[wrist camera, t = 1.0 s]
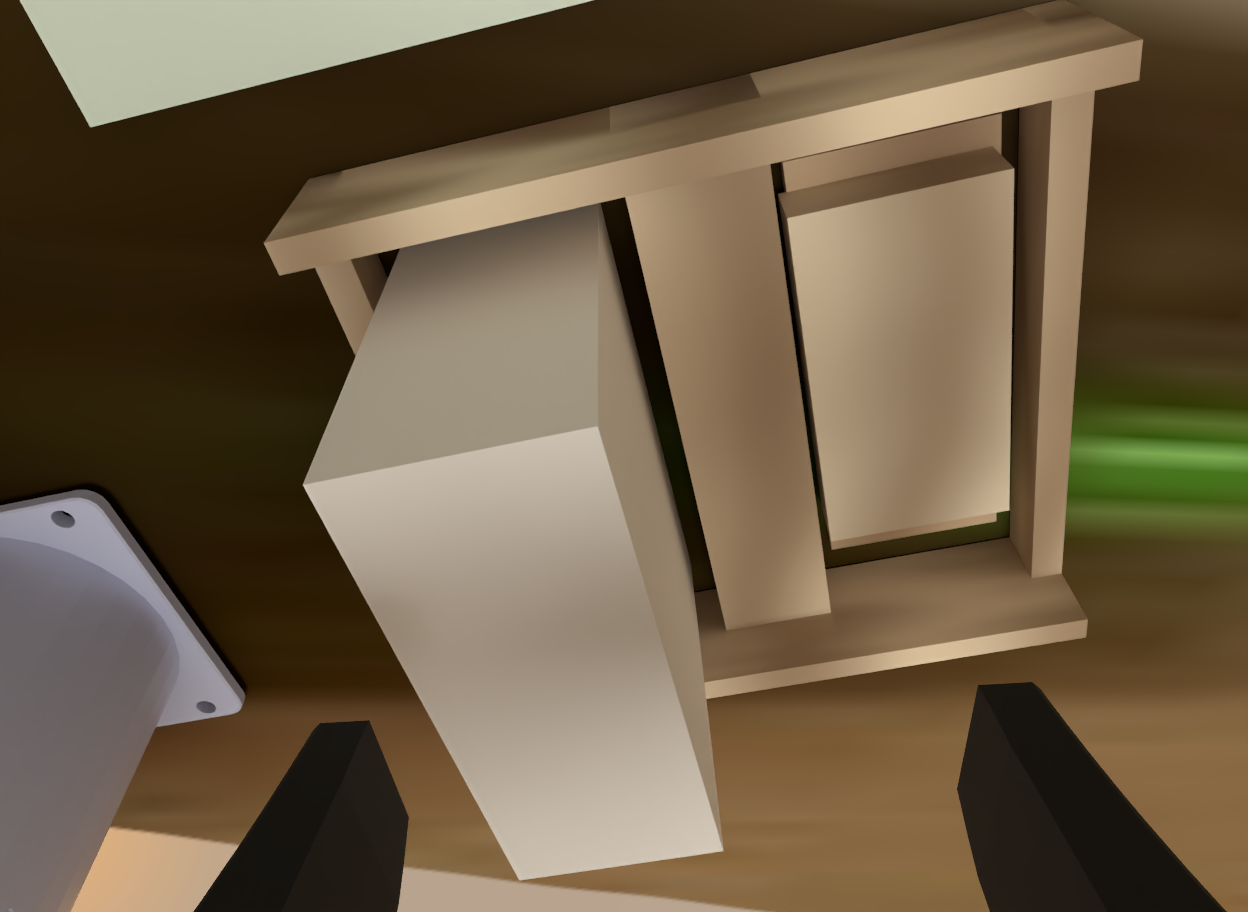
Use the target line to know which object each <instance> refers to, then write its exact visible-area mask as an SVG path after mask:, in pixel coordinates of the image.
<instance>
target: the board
mask: <svg viewBox="0 0 1248 912" xmlns="http://www.w3.org/2000/svg"><path fill="white" fill-rule="evenodd" d="M588 1H592V0H20V2H21V4H22V5H23V7H24V9H25V11H26V12H27V14H28V16H29V18H30V20H31V21H32V23H33V25H34V27H35V29H36V30H37V32H38V34H39V36H40V38H41V39H42V41H43V43H44V45H45V47H46V48H47V50H48V52H49V54H50V56H51V57H52V59H53V61H54V63H55V64H56V66H57V68H58V70H59V72H60V73H61V75H62V77H63V79H64V81H65V82H66V84H67V86H68V88H69V90H70V91H71V93H72V95H73V97H74V99H75V100H76V102H77V104H78V106H79V107H80V109H81V111H82V113H83V115H84V116H85V118H86V120H87V122H88V124H89V125H90V127H94V126H98V125H102V124H106V123H110V122H114V121H118V120H122V119H125V118H129V117H133V116H137V115H141V114H145V113H149V112H153V111H157V110H161V109H165V108H169V107H173V106H177V105H181V104H185V103H189V102H193V101H197V100H201V99H205V98H209V97H213V96H216V95H220V94H224V93H228V92H232V91H236V90H240V89H244V88H248V87H252V86H256V85H260V84H264V83H268V82H272V81H276V80H280V79H284V78H288V77H292V76H296V75H300V74H303V73H307V72H311V71H315V70H319V69H323V68H327V67H331V66H335V65H339V64H343V63H347V62H351V61H355V60H359V59H363V58H367V57H371V56H375V55H379V54H383V53H387V52H391V51H394V50H398V49H402V48H406V47H410V46H414V45H418V44H422V43H426V42H430V41H434V40H438V39H442V38H446V37H450V36H454V35H458V34H462V33H466V32H470V31H474V30H478V29H481V28H485V27H489V26H493V25H497V24H501V23H505V22H509V21H513V20H517V19H521V18H525V17H529V16H533V15H537V14H541V13H545V12H549V11H553V10H557V9H561V8H565V7H569V6H572V5H576V4H580V3H584V2H588Z"/></svg>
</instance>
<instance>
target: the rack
mask: <svg viewBox="0 0 1248 912" xmlns="http://www.w3.org/2000/svg"><path fill="white" fill-rule="evenodd" d="M1142 44H1143V39H1141V38H1139V37H1137V36H1135V35H1133V34H1132V33H1130V32H1128V31H1126V30H1124V29H1122V28H1120V27H1118V26H1116V25H1114V24H1112V23H1110V22H1108V21H1106V20H1104V19H1102V18H1100V17H1098V16H1096V15H1094V14H1092V13H1090V12H1088V11H1086V10H1084V9H1082V8H1080V7H1078V6H1076V5H1074V4H1072V3H1070V2H1068V1H1066V0H1055V1H1051V2H1047V3H1043V4H1039V5H1034V6H1030V7H1026V8H1022V9H1018V10H1013V11H1009V12H1005V13H1001V14H997V15H993V16H988V17H984V18H980V19H976V20H972V21H967V22H963V23H959V24H955V25H951V26H947V27H942V28H938V29H934V30H930V31H926V32H921V33H917V34H913V35H909V36H905V37H900V38H896V39H892V40H888V41H884V42H880V43H875V44H871V45H867V46H863V47H859V48H854V49H850V50H846V51H842V52H838V53H833V54H829V55H825V56H821V57H817V58H813V59H808V60H804V61H800V62H796V63H792V64H787V65H783V66H779V67H775V68H771V69H766V70H762V71H758V72H754V73H750V74H746V75H741V76H737V77H733V78H729V79H725V80H720V81H716V82H712V83H708V84H704V85H699V86H695V87H691V88H687V89H683V90H679V91H674V92H670V93H666V94H662V95H658V96H653V97H649V98H645V99H641V100H637V101H632V102H628V103H624V104H620V105H616V106H612V107H607V108H603V109H599V110H595V111H591V112H586V113H582V114H578V115H574V116H570V117H566V118H561V119H557V120H553V121H549V122H545V123H540V124H536V125H532V126H528V127H524V128H519V129H515V130H511V131H507V132H503V133H499V134H494V135H490V136H486V137H482V138H478V139H473V140H469V141H465V142H461V143H457V144H452V145H448V146H444V147H440V148H436V149H432V150H427V151H423V152H419V153H415V154H411V155H406V156H402V157H398V158H394V159H390V160H385V161H381V162H377V163H373V164H369V165H365V166H360V167H356V168H352V169H348V170H344V171H339V172H335V173H331V174H327V175H323V176H318V177H314V178H310V179H309V180H308V181H307V182H306V184H305V185H304V187H303V188H302V189H301V191H300V192H299V194H298V195H297V197H296V198H295V199H294V201H293V202H292V204H291V205H290V207H289V208H288V209H287V211H286V212H285V214H284V215H283V216H282V218H281V219H280V221H279V222H278V224H277V225H276V226H275V228H274V229H273V231H272V232H271V233H270V235H269V236H268V238H267V239H266V241H265V242H264V245H265V247H266V249H267V251H268V253H269V255H270V257H271V259H272V261H273V263H274V265H275V267H276V269H277V271H278V273H279V276H280V275H284V274H288V273H293V272H297V271H302V270H306V269H310V268H315V269H316V271H317V273H318V275H319V277H320V279H321V282H322V284H323V286H324V288H325V290H326V293H327V295H328V297H329V299H330V301H331V304H332V306H333V308H334V310H335V312H336V314H337V317H338V319H339V321H340V323H341V325H342V328H343V330H344V332H345V334H346V336H347V338H348V341H349V343H350V345H351V347H352V349H353V352H354V354H355V356H356V355H357V352H358V350H359V347H360V345H361V343H362V340H363V338H364V335H365V333H366V330H367V328H368V326H369V323H370V321H371V318H372V316H373V313H374V311H375V309H376V306H377V304H378V301H379V299H380V296H381V294H382V292H383V289H384V287H385V284H386V282H387V279H388V278H387V275H386V273H385V270H384V268H383V265H382V263H381V261H380V258H379V256H378V253H381V252H385V251H390V250H394V249H398V248H403V247H407V246H412V245H416V244H421V243H425V242H429V241H434V240H438V239H443V238H447V237H451V236H456V235H460V234H465V233H469V232H473V231H478V230H482V229H487V228H491V227H495V226H500V225H504V224H509V223H513V222H517V221H522V220H526V219H531V218H535V217H539V216H544V215H548V214H553V213H557V212H561V211H566V210H570V209H575V208H579V207H583V206H588V205H592V204H597V203H601V202H605V201H610V200H614V199H619V198H623V197H625V198H626V202H627V207H628V211H629V215H630V219H631V224H632V228H633V232H634V237H635V241H636V245H637V249H638V254H639V258H640V262H641V266H642V271H643V275H644V279H645V284H646V288H647V292H648V296H649V301H650V305H651V309H652V314H653V318H654V322H655V326H656V331H657V335H658V339H659V344H660V348H661V352H662V356H663V361H664V365H665V369H666V374H667V378H668V382H669V386H670V391H671V395H672V399H673V403H674V408H675V412H676V416H677V421H678V425H679V429H680V433H681V438H682V442H683V446H684V451H685V455H686V459H687V463H688V468H689V472H690V476H691V481H692V485H693V489H694V493H695V498H696V502H697V506H698V510H699V515H700V519H701V523H702V528H703V532H704V536H705V540H706V545H707V549H708V553H709V558H710V562H711V566H712V570H713V575H714V579H715V583H716V588H717V589H712V590H706V591H701V592H695V593H694V596H695V605H696V613H697V622H698V631H699V640H700V649H701V657H702V666H703V675H704V684H705V693H706V699H709V698H715V697H721V696H727V695H733V694H739V693H746V692H752V691H758V690H764V689H770V688H776V687H783V686H789V685H795V684H801V683H807V682H813V681H820V680H826V679H832V678H838V677H844V676H850V675H857V674H863V673H869V672H875V671H881V670H887V669H893V668H900V667H906V666H912V665H918V664H924V663H930V662H937V661H943V660H949V659H955V658H961V657H967V656H974V655H980V654H986V653H992V652H998V651H1004V650H1011V649H1017V648H1023V647H1029V646H1035V645H1041V644H1047V643H1054V642H1060V641H1066V640H1072V639H1078V638H1084V637H1086V632H1087V621H1088V619H1087V617H1086V616H1085V614H1084V612H1083V610H1082V609H1081V607H1080V605H1079V603H1078V602H1077V600H1076V598H1075V596H1074V595H1073V593H1072V591H1071V589H1070V588H1069V586H1068V584H1067V582H1066V580H1065V579H1064V577H1063V575H1062V559H1063V544H1064V530H1065V515H1066V501H1067V486H1068V472H1069V457H1070V443H1071V428H1072V413H1073V399H1074V384H1075V370H1076V355H1077V341H1078V326H1079V312H1080V297H1081V282H1082V268H1083V253H1084V239H1085V224H1086V210H1087V195H1088V180H1089V166H1090V151H1091V137H1092V122H1093V108H1094V93H1095V90H1099V89H1103V88H1108V87H1112V86H1116V85H1121V84H1125V83H1130V82H1134V81H1138V80H1139V75H1140V65H1141V54H1142ZM1015 108H1019V147H1018V191H1017V234H1016V278H1015V322H1014V365H1013V409H1012V453H1011V497H1010V537H1008V538H1002V539H996V540H991V541H985V542H979V543H974V544H968V545H962V546H957V547H951V548H945V549H940V550H934V551H928V552H922V553H917V554H911V555H905V556H900V557H894V558H888V559H883V560H877V561H871V562H866V563H860V564H854V565H849V566H843V567H837V568H831V569H826V570H825V564H824V557H823V549H822V542H821V535H820V527H819V520H818V513H817V505H816V498H815V490H814V483H813V476H812V468H811V461H810V454H809V446H808V439H807V432H806V424H805V417H804V410H803V402H802V395H801V387H800V380H799V373H798V365H797V358H796V351H795V343H794V336H793V329H792V321H791V314H790V307H789V299H788V292H787V284H786V277H785V270H784V262H783V255H782V248H781V240H780V233H779V226H778V218H777V211H776V204H775V196H774V189H773V181H772V174H771V167H770V164H773V163H777V162H782V161H786V160H790V159H795V158H799V157H804V156H808V155H812V154H817V153H821V152H826V151H830V150H834V149H839V148H843V147H848V146H852V145H857V144H861V143H865V142H870V141H874V140H879V139H883V138H887V137H892V136H896V135H901V134H905V133H909V132H914V131H918V130H923V129H927V128H931V127H936V126H940V125H945V124H949V123H953V122H958V121H962V120H967V119H971V118H975V117H980V116H984V115H989V114H993V113H997V112H1002V111H1006V110H1011V109H1015Z"/></svg>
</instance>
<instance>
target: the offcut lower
mask: <svg viewBox="0 0 1248 912" xmlns="http://www.w3.org/2000/svg"><path fill="white" fill-rule="evenodd" d="M1001 126H1002V113H1001V112H997V113H993V114H989V115H984V116H980V117H975V118H971V119H967V120H962V121H958V122H953V123H949V124H945V125H940V126H936V127H931V128H927V129H923V130H918V131H914V132H909V133H905V134H901V135H896V136H892V137H887V138H883V139H879V140H874V141H870V142H865V143H861V144H857V145H852V146H848V147H843V148H839V149H834V150H830V151H826V152H821V153H817V154H812V155H808V156H804V157H799V158H795V159H790V160H786V161H782V162H780V163H781V171H782V179H783V187H784V192H790V191H795V190H799V189H804V188H808V187H813V186H817V185H821V184H826V183H830V182H835V181H839V180H844V179H848V178H852V177H857V176H861V175H866V174H870V173H875V172H879V171H884V170H888V169H892V168H897V167H901V166H906V165H910V164H915V163H919V162H923V161H928V160H932V159H937V158H941V157H946V156H950V155H955V154H959V153H963V152H968V151H972V150H977V149H981V148H986V147H990V146H993V147H994V148H995V149H996V150H997V151H998V152H999V153H1000V154H1001ZM995 521H996V513H991V514H985V515H980V516H974V517H968V518H963V519H957V520H951V521H946V522H940V523H934V524H928V525H923V526H917V527H911V528H906V529H900V530H894V531H888V532H883V533H877V534H871V535H866V536H860V537H854V538H849V539H843V540H837V541H831V540H830V537H829V541H830V545H831V548H832V550H833V549H839V548H844V547H850V546H856V545H862V544H868V543H873V542H879V541H885V540H891V539H896V538H902V537H908V536H914V535H920V534H925V533H931V532H937V531H943V530H948V529H954V528H960V527H966V526H972V525H977V524H983V523H989V522H995ZM828 536H829V533H828Z"/></svg>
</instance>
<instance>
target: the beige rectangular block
mask: <svg viewBox="0 0 1248 912" xmlns="http://www.w3.org/2000/svg"><path fill="white" fill-rule="evenodd" d="M303 486H304V488H305V490H306V492H307V494H308V496H309V497H310V499H311V501H312V503H313V505H314V507H315V508H316V510H317V512H318V514H319V516H320V517H321V519H322V521H323V523H324V525H325V527H326V528H327V530H328V532H329V534H330V536H331V538H332V539H333V541H334V543H335V545H336V547H337V548H338V550H339V552H340V554H341V556H342V558H343V559H344V561H345V563H346V565H347V567H348V569H349V570H350V572H351V574H352V576H353V578H354V579H355V581H356V583H357V585H358V587H359V589H360V590H361V592H362V594H363V596H364V598H365V600H366V601H367V603H368V605H369V607H370V609H371V610H372V612H373V614H374V616H375V618H376V620H377V621H378V623H379V625H380V627H381V629H382V631H383V632H384V634H385V636H386V638H387V640H388V641H389V643H390V645H391V647H392V649H393V651H394V652H395V654H396V656H397V658H398V660H399V662H400V663H401V665H402V667H403V669H404V671H405V673H406V674H407V676H408V678H409V680H410V682H411V683H412V685H413V687H414V689H415V691H416V693H417V694H418V696H419V698H420V700H421V702H422V704H423V705H424V707H425V709H426V711H427V713H428V714H429V716H430V718H431V720H432V722H433V724H434V725H435V727H436V729H437V731H438V733H439V735H440V736H441V738H442V740H443V742H444V744H445V745H446V747H447V749H448V751H449V753H450V755H451V756H452V758H453V760H454V762H455V764H456V766H457V767H458V769H459V771H460V773H461V775H462V776H463V778H464V780H465V782H466V784H467V786H468V787H469V789H470V791H471V793H472V795H473V797H474V798H475V800H476V802H477V804H478V806H479V807H480V809H481V811H482V813H483V815H484V817H485V818H486V820H487V822H488V824H489V826H490V828H491V829H492V831H493V833H494V835H495V837H496V839H497V840H498V842H499V844H500V846H501V848H502V849H503V851H504V853H505V855H506V857H507V859H508V860H509V862H510V864H511V866H512V868H513V870H514V871H515V873H516V875H517V877H518V879H519V880H526V879H533V878H540V877H547V876H554V875H561V874H568V873H575V872H582V871H588V870H595V869H602V868H609V867H616V866H623V865H630V864H637V863H644V862H651V861H658V860H665V859H672V858H679V857H686V856H693V855H700V854H707V853H714V852H721V851H723V842H722V833H721V825H720V816H719V807H718V798H717V789H716V781H715V772H714V763H713V754H712V745H711V737H710V728H709V719H708V710H707V701H706V693H705V684H704V675H703V666H702V657H701V649H700V640H699V631H698V622H697V613H696V605H695V596H694V587H693V578H692V569H691V562H690V558H689V554H688V550H687V546H686V542H685V538H684V534H683V530H682V526H681V522H680V518H679V514H678V510H677V506H676V502H675V498H674V494H673V490H672V486H671V482H670V478H669V474H668V470H667V466H666V462H665V459H664V455H663V451H662V447H661V443H660V439H659V435H658V431H657V427H656V423H655V419H654V415H653V411H652V407H651V403H650V399H649V395H648V391H647V387H646V383H645V379H644V375H643V371H642V367H641V363H640V359H639V355H638V351H637V347H636V343H635V339H634V335H633V331H632V327H631V323H630V319H629V315H628V311H627V307H626V303H625V299H624V295H623V291H622V287H621V283H620V279H619V275H618V271H617V267H616V263H615V259H614V255H613V251H612V247H611V243H610V239H609V235H608V231H607V227H606V223H605V219H604V215H603V211H602V207H601V203H597V204H592V205H588V206H583V207H579V208H575V209H570V210H566V211H561V212H557V213H553V214H548V215H544V216H539V217H535V218H531V219H526V220H522V221H517V222H513V223H509V224H504V225H500V226H495V227H491V228H487V229H482V230H478V231H473V232H469V233H465V234H460V235H456V236H451V237H447V238H443V239H438V240H434V241H429V242H425V243H421V244H416V245H412V246H407V247H403V248H400V250H399V253H398V255H397V258H396V260H395V263H394V265H393V267H392V270H391V272H390V275H389V277H388V279H387V282H386V284H385V287H384V289H383V292H382V294H381V296H380V299H379V301H378V304H377V306H376V309H375V311H374V313H373V316H372V318H371V321H370V323H369V326H368V328H367V330H366V333H365V335H364V338H363V340H362V343H361V345H360V347H359V350H358V352H357V355H356V357H355V360H354V362H353V364H352V367H351V369H350V372H349V374H348V376H347V379H346V381H345V384H344V386H343V389H342V391H341V393H340V396H339V398H338V401H337V403H336V406H335V408H334V410H333V413H332V415H331V418H330V420H329V423H328V425H327V427H326V430H325V432H324V435H323V437H322V440H321V442H320V444H319V447H318V449H317V452H316V454H315V457H314V459H313V461H312V464H311V466H310V469H309V471H308V474H307V476H306V478H305V481H304V483H303Z"/></svg>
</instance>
